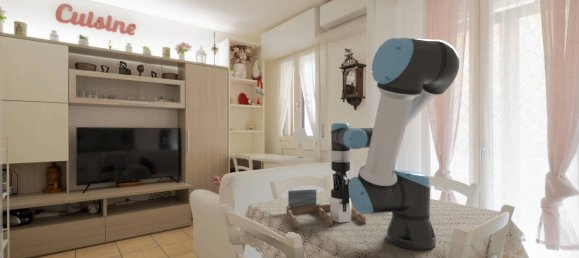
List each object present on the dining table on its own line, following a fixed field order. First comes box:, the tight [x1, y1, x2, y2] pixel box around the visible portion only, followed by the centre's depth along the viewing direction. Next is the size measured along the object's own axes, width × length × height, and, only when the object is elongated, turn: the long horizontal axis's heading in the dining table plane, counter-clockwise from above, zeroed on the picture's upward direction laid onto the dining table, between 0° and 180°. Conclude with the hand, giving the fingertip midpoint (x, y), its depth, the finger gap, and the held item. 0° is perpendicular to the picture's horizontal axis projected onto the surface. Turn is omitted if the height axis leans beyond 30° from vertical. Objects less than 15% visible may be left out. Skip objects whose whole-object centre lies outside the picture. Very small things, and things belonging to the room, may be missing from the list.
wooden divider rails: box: [286, 188, 367, 230], centre depth 120 cm, size 20×28×10 cm
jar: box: [329, 188, 353, 224], centre depth 119 cm, size 9×8×12 cm
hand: (341, 217), depth 119 cm, fingers closed on jar, 4 cm apart
